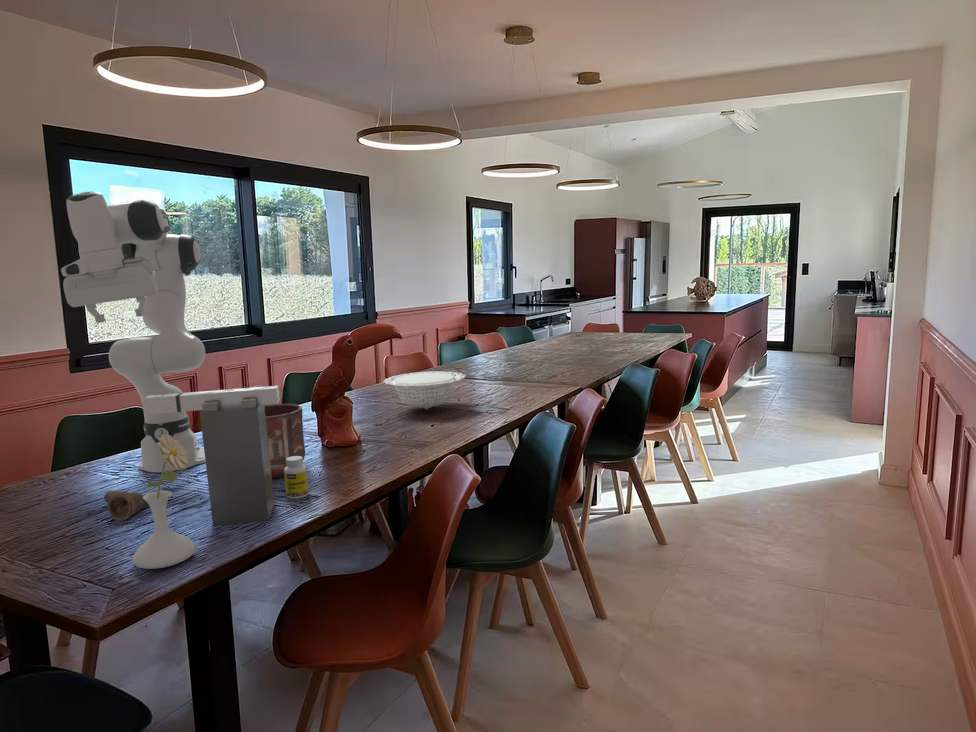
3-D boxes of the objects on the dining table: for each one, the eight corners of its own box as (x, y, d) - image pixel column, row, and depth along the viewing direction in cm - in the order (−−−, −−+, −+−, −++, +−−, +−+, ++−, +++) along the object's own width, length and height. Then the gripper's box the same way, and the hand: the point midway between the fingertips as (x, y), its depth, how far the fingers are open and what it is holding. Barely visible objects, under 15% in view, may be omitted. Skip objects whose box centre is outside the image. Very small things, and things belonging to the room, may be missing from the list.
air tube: (150, 411, 148) (148, 395, 148) (279, 400, 153) (278, 385, 153) (145, 414, 145) (143, 398, 144) (277, 404, 150) (276, 388, 149)
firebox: (220, 510, 157) (207, 396, 153) (274, 504, 160) (262, 392, 155) (211, 526, 148) (197, 405, 143) (268, 520, 150) (256, 400, 146)
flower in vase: (163, 578, 123) (146, 448, 119) (119, 570, 127) (102, 445, 124) (215, 549, 135) (201, 430, 131) (173, 543, 139) (159, 428, 136)
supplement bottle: (286, 500, 162) (282, 462, 161) (286, 493, 167) (282, 456, 166) (309, 497, 164) (305, 459, 162) (308, 490, 169) (305, 453, 167)
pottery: (243, 468, 191) (237, 407, 188) (306, 460, 196) (300, 401, 193) (240, 486, 174) (233, 420, 172) (309, 477, 180) (303, 413, 177)
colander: (368, 413, 256) (366, 381, 254) (426, 398, 279) (424, 368, 277) (426, 423, 235) (424, 388, 233) (484, 406, 259) (482, 374, 257)
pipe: (117, 481, 169) (78, 487, 160) (160, 488, 161) (122, 495, 152) (117, 506, 169) (77, 514, 160) (160, 515, 161) (121, 523, 152)
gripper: (153, 254, 160) (169, 309, 164) (66, 267, 158) (84, 323, 162) (143, 257, 154) (160, 314, 158) (53, 270, 152) (72, 328, 156)
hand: (121, 319), depth 160 cm, fingers open, 8 cm apart
